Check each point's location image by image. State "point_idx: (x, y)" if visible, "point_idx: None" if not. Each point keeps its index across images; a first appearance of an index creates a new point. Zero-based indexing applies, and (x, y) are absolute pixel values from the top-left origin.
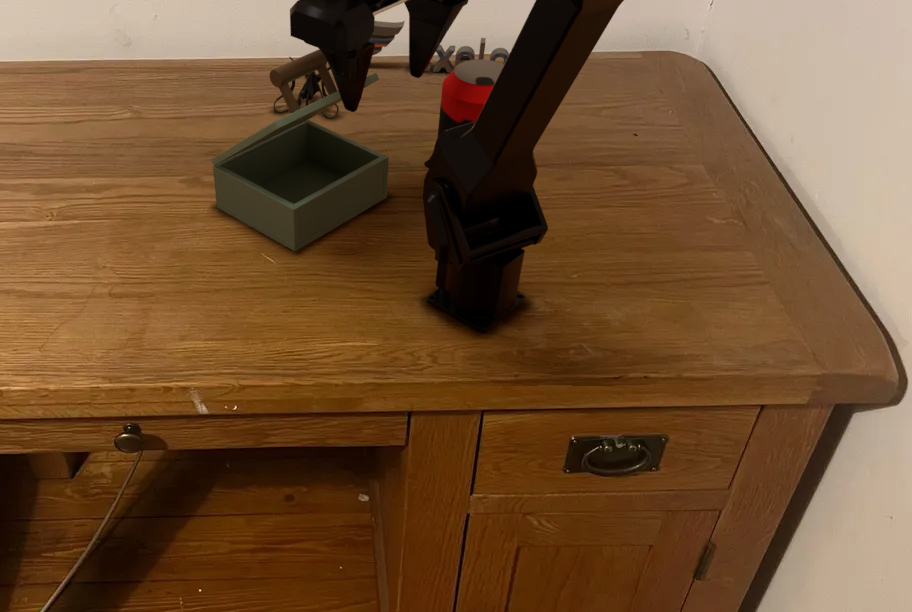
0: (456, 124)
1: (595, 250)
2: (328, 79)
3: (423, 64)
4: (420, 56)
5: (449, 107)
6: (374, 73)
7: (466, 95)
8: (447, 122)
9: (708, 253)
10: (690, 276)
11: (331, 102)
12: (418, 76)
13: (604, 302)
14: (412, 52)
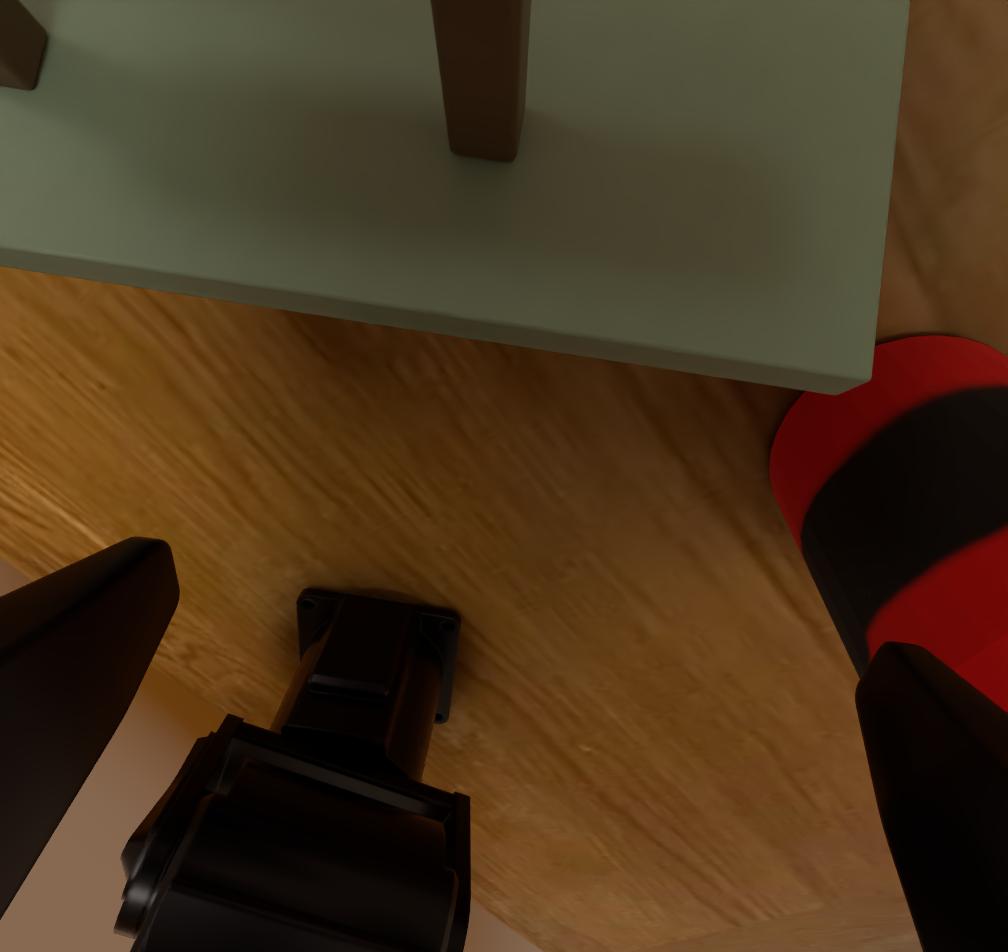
0: (866, 612)
1: (696, 754)
2: (463, 62)
3: (884, 818)
4: (929, 853)
5: (925, 619)
6: (845, 377)
7: None
8: (890, 563)
9: (787, 871)
10: (696, 863)
11: (247, 303)
12: (857, 701)
13: (538, 795)
14: (989, 802)
